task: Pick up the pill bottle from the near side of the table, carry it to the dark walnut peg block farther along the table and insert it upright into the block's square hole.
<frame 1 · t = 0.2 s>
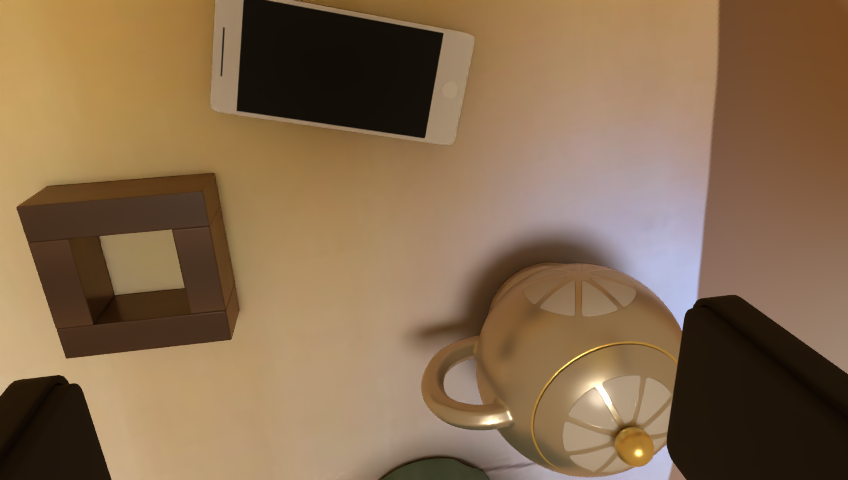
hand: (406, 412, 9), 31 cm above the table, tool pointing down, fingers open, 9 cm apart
teapot: (520, 311, 46), on the table
smartphone: (343, 70, 37), on the table
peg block: (149, 252, 39), on the table
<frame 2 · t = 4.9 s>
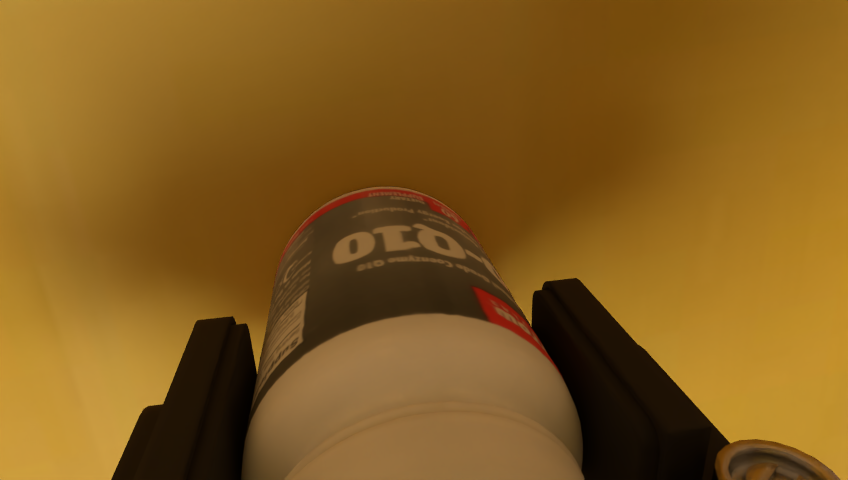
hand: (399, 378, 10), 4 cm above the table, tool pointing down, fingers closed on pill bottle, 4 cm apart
pill bottle: (380, 276, 14), on the table, touching gripper
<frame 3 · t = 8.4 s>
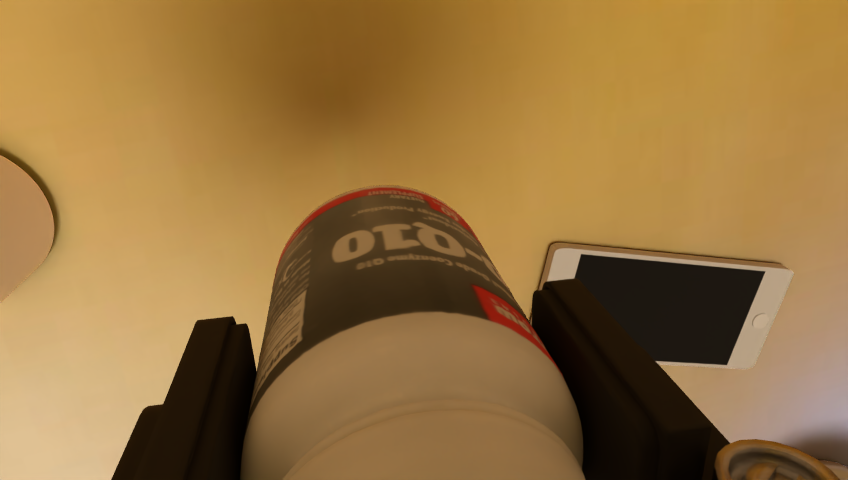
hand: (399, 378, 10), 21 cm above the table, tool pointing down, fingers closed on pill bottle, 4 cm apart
pill bottle: (380, 275, 14), point 17 cm above the table, touching gripper
smartphone: (653, 305, 36), on the table
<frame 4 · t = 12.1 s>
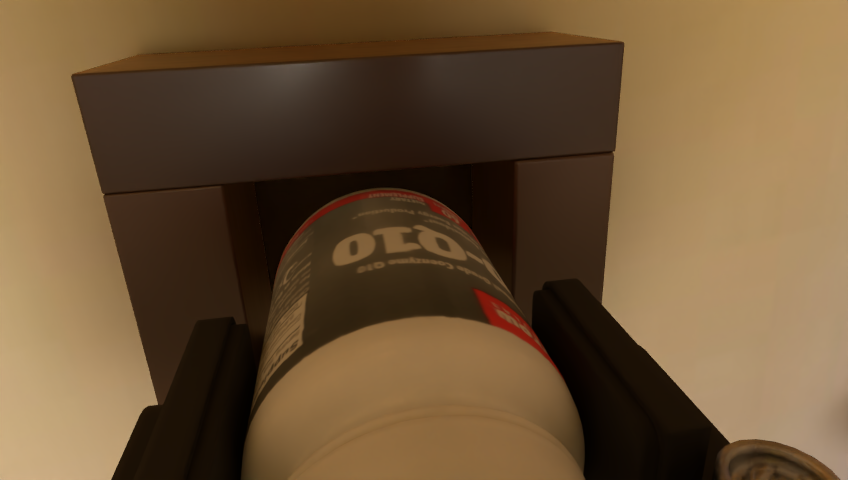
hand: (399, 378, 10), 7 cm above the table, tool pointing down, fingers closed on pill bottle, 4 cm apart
pill bottle: (380, 277, 14), point 3 cm above the table, touching gripper
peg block: (370, 234, 16), on the table
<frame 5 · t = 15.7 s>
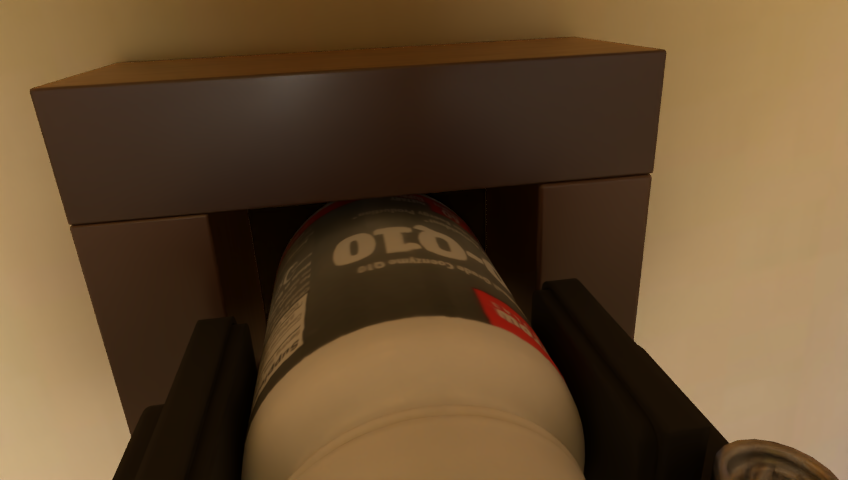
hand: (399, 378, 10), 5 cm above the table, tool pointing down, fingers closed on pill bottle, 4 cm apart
pill bottle: (380, 277, 14), point 1 cm above the table, touching gripper
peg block: (374, 258, 15), on the table
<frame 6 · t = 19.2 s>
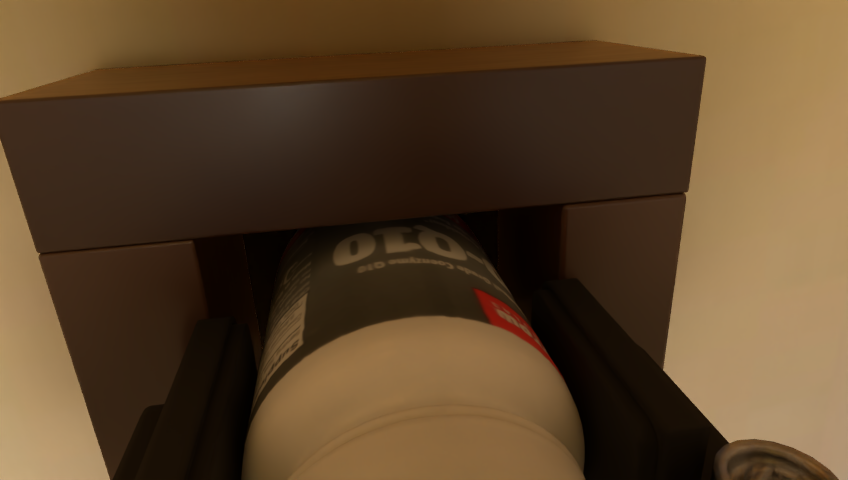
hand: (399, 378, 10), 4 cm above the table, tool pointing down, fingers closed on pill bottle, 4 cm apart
pill bottle: (380, 277, 14), resting in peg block, touching gripper
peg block: (377, 278, 14), on the table
when the fingers open (6 cm above the table, at t = 21.4 s): pill bottle drops 2 cm, resting in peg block.
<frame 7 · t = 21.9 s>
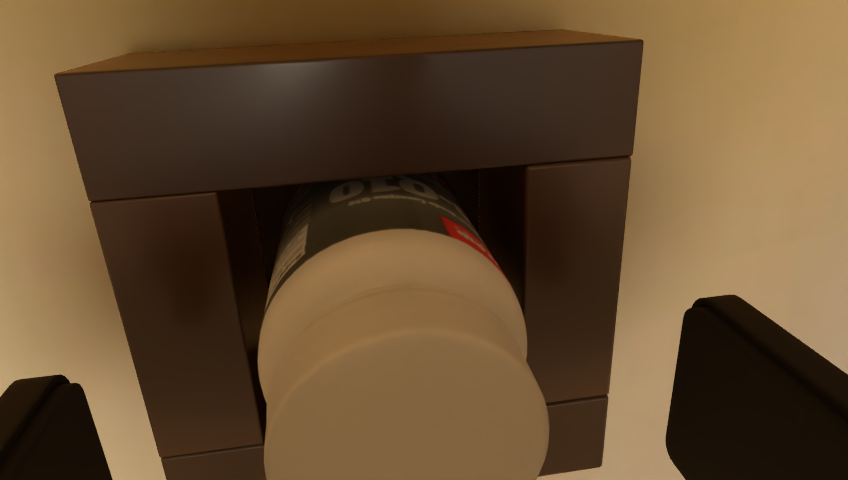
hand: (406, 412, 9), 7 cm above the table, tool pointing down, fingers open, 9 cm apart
pill bottle: (371, 230, 16), resting in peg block
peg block: (372, 240, 16), on the table
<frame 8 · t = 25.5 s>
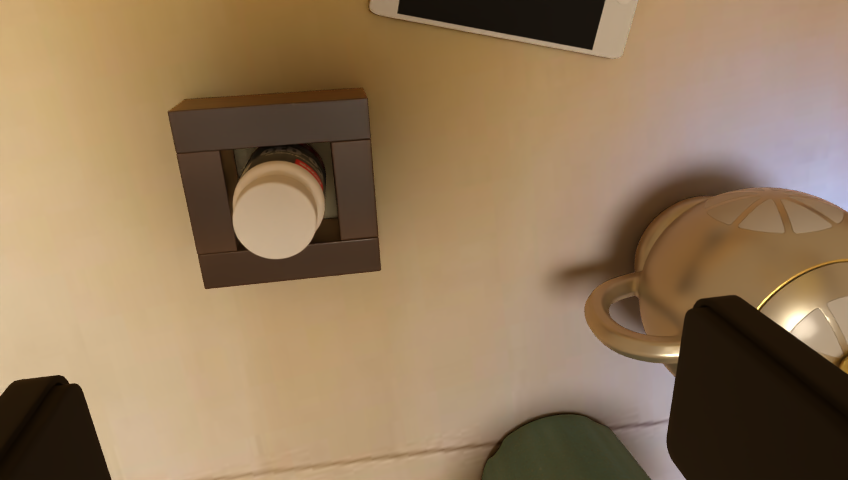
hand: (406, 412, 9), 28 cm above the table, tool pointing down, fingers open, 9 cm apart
teapot: (665, 252, 43), on the table
pill bottle: (287, 173, 36), resting in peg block
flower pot: (549, 470, 49), on the table
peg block: (287, 177, 36), on the table
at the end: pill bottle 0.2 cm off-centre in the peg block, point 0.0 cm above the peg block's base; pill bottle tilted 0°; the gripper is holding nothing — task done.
